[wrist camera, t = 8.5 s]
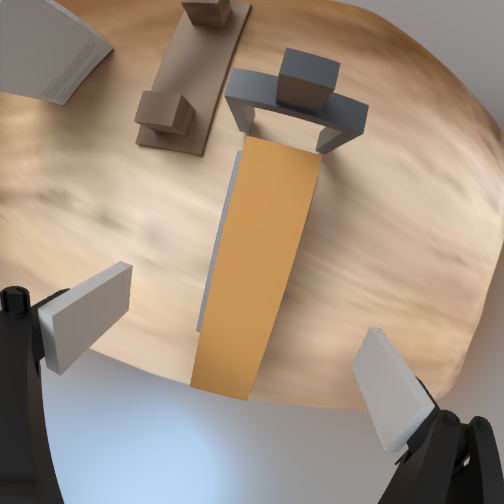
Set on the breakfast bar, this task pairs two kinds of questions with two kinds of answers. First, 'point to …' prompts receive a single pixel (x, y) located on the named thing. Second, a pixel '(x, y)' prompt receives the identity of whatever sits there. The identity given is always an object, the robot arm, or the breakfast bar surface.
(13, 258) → the breakfast bar surface
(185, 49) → the rest
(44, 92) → the skincare box
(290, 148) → the orange tapered block
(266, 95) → the grey gate frame
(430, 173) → the breakfast bar surface
